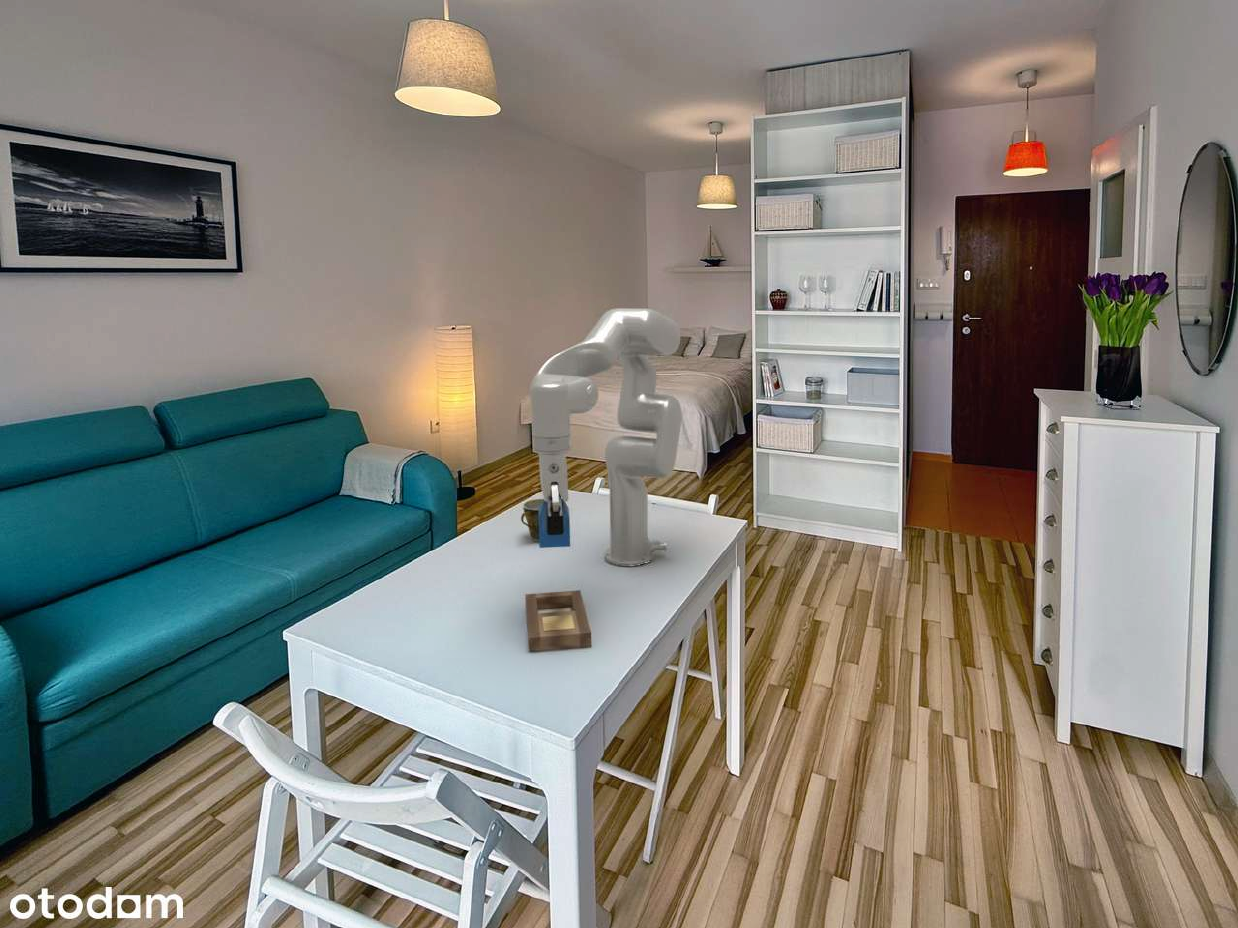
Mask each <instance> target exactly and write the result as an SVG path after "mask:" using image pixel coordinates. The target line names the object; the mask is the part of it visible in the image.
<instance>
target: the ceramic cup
mask: <svg viewBox="0 0 1238 928" xmlns="http://www.w3.org/2000/svg"><path fill="white" fill-rule="evenodd" d="M543 500H544V498H538V499H537V498H535V499H531V500H528V501H527V500H526V501H525V502H524V503H523V504H522V509H523V513H522V514H521V518H520V521H521V523H522V524H523V525H525V526H527V528H528V531H529V536H530V540H531V542H533V543H536V544H539V520H538V517H539V508H540V506H541V504H542V502H543ZM524 518H525V520H526V522H525V521H524Z"/></svg>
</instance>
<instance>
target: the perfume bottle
mask: <svg viewBox="0 0 1238 928" xmlns="http://www.w3.org/2000/svg"><path fill="white" fill-rule="evenodd" d="M549 500H552V498H549ZM561 501H562V502H561V503H562V515H563V530H564V533H563V534H561V535H548V533H547V515H548V504H547V502H545V501H544V500H543V502H542V504H541V506H540V508H539V517H538V520H539V543H538V545H539V549H543V548H544V549H545V548H546V549H547V548H567V547H568V548H569V547H571V524H570V520H571V519H570V511H569V510H570V508H569V506H568V505H567V502H565V500H562V498H561ZM550 505H551V506H552V504H550Z"/></svg>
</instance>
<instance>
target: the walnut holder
mask: <svg viewBox="0 0 1238 928" xmlns="http://www.w3.org/2000/svg"><path fill="white" fill-rule="evenodd" d="M525 609H526V610H525V613H526V614H525V615H526V622H527V623H526V625H527V635H528V637H527V638H528V649H529V653H535V652H536V653H537V652H547V651H558V650H559V649H560V650H569V649H579V648H590V647H592V631H591V626H590V623H589V619H588V615H587V610H586V607H585V603H584V600H583V596H582V592H581V589H578V590H577V589H576V590H564V591H552V592H541V593H540V592H539V593H537V592H536V593H525ZM560 650H559V651H560Z"/></svg>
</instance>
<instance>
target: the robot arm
mask: <svg viewBox="0 0 1238 928" xmlns="http://www.w3.org/2000/svg"><path fill="white" fill-rule="evenodd" d="M680 343H681V330H680V327H679V325H678V324H677V323H676V321H675V320H674V319H672V318H670V317H668V316H666V315H665V314H662V313H661V312H659V311H656V310H654V309H650V308H636V307H635V308H634V307H633V308H622V307H620V308H618V307H617V308H612V309H611V308H610V310H607V311H606V312H604V314H602V316H601V317H600V319H599V320H598V321H597V323H596V324H595V325H594V326H593V328H591V330H590V331H589V333H588V334H587V336H585V338H584V340H582V341H581V342H579V343H576V344H575V345H572V346H571V347H568V348H566V349H564V350H562V351H560V352H559V353H557V354H555V355H553V356H552V357H550V358H549V359H548V360H546V362H545V363H543V365H542V366H541V367H540V369H538V371H537V372H536V374H535V376H534V377H533V378H532V381H531V383H530V386H529V400H530V410H531V411H530V412H531V414H530V415H531V416H530V417H531V435H532V438H531V439H532V452H533V453H535V454H538V457H539V458H538V461H539V462H538V463H539V478H540V486H541V487H540V488H541V491H542V493H541V494H542V496H543V498H542V499H544V501H545V502H547V504H548V515H547V533H548V535H561V534H563V533H564V530H563V515H562V503H561V502H562V501H561V499H562V500H564V501H565V503H567V502H568V501H569V484H568V466H567V454H566V453H568V452H570V451H571V425H570V424H571V423H570V422H571V420H570V419H571V415H573V414H576V415H577V414H585V413H587V412H589V411H591V410H592V409H593V408H594V407H595V406H596V405H597V402H598V400H599V389H598V386H597V385H596V383H595V382H594V381H593V380H592V379H591V378H589V377H592V376H596V375H599V374H603V373H606V372H607V371H609V370H611V369H613V367H614V366H615V364H616V363H617V361H618V360H619V361H620V365H621V366H620V367H621V369H622V381H621V388H620V393H619V400H618V405H617V414H616V417H617V424H618V425H619V427H620V428H621V429H622V430H627V431H631V432H640V433H648V434H656V438H655V437H654V438H652V437H644V436H634V435H617V436H615V437H613V438H611V439H610V440H609V441H608V442H607V444H606V446H605V448H604V461H605V464H606V470H607V476H608V485H609V486H608V487H609V534H610V535H609V537H610V538H609V539H610V540H609V541H610V542H609V544H610V548H608V549H607V550H605V552H604V560H605V561H606V562H608V563H609V564H611V563H612V564H611V565H614V564H616V565H615V566H618V565H623V566H622V567H630V566H629V565H638V564H642V563H645V562H648V561H650V560H652V559H653V560H654V558H655V554H654V553H655V551H659V552H660V551H666V550H667V543H666V542H660V540H653V541H652V540H650V539H649V536H648V535H649V534H648V533H649V523H648V518H649V515H648V514H649V513H648V510H649V509H648V508H649V507H648V506H649V505H648V502H649V501H648V500H649V499H648V498H649V496H648V488H647V485H646V483H645V481H644V480H643V478H642V477H644V478H651V479H652V478H653V479H666V478H669V477H670V476H671V475H672V474H673V471H674V469H675V467H676V466H675V465H676V461H677V454H678V447H679V440H680V435H681V434H680V432H681V426H682V418H683V417H682V415H683V414H682V408H681V404H680V401H679V400H678V399H677V398H676V397H674V396H673V395H670V394H658V393H656V389H657V379H658V374H657V372H656V369H655V367H654V365H653V363H652V361H651V360H650V359H649V358H648V356H671V355H673V354H674V353H675V352H677V350H678V349H679V346H680ZM549 498H552V500H549ZM550 504H552V506H551V505H550ZM653 557H654V558H653ZM653 560H652V561H653ZM650 562H651V561H650Z"/></svg>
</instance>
